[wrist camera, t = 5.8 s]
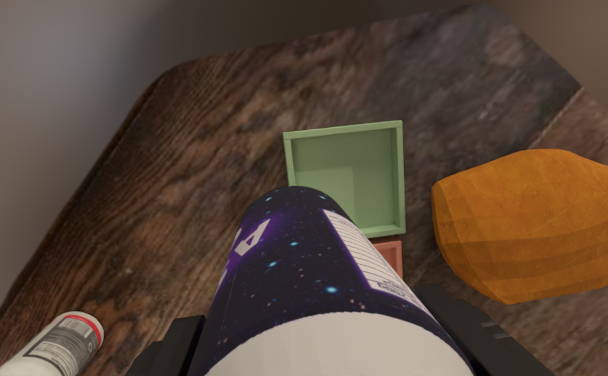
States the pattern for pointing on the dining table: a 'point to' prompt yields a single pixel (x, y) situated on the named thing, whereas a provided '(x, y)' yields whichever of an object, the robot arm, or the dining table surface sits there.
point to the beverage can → (316, 301)
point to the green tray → (354, 171)
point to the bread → (525, 225)
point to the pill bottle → (58, 348)
